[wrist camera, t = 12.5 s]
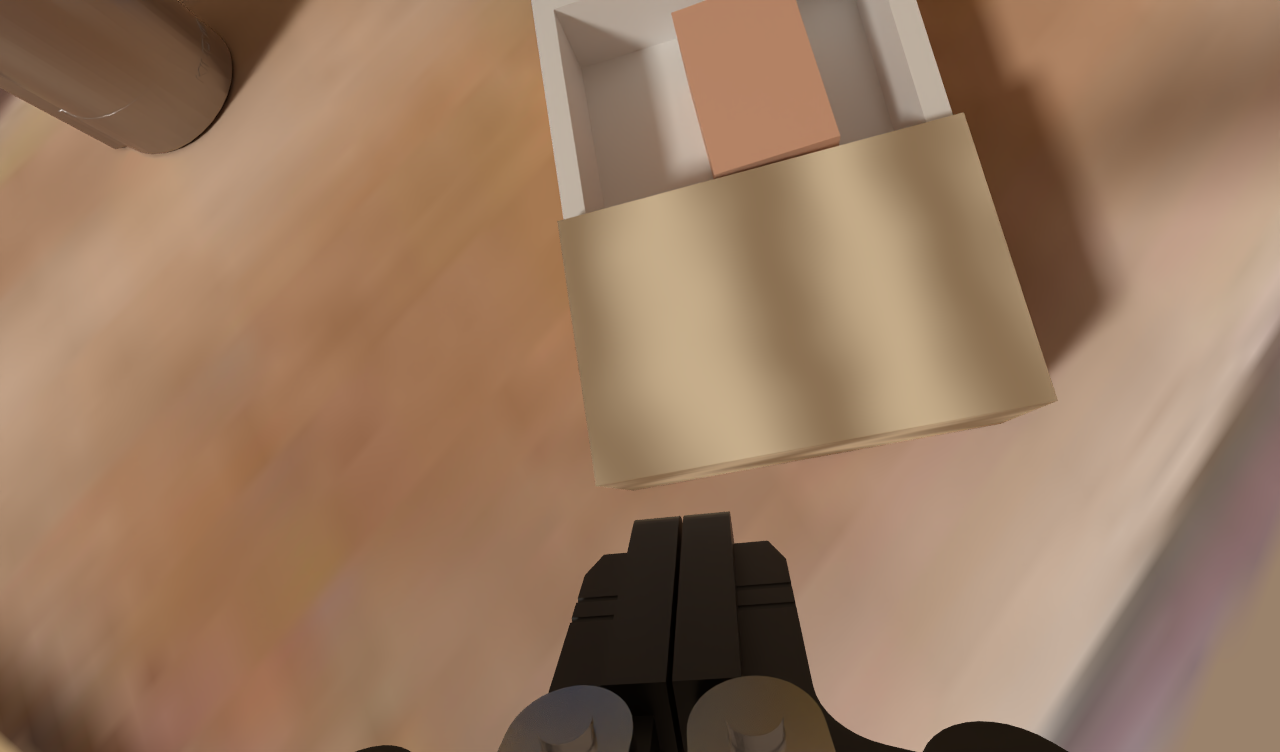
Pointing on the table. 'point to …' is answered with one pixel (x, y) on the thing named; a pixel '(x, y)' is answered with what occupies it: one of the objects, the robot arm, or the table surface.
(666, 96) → the white inner box tray
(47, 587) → the table surface
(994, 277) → the beige box sleeve
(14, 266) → the table surface
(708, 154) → the block
